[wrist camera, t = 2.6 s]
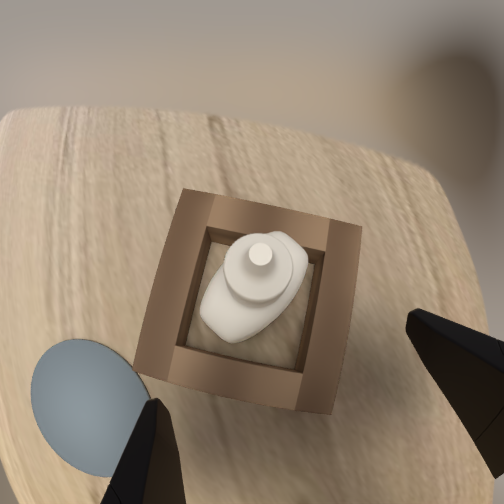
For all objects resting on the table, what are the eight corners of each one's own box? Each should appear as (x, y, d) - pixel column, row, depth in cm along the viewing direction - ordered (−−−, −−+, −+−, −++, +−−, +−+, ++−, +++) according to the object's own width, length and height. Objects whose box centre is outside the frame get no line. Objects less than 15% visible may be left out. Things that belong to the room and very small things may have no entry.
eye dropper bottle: (202, 286, 21) (153, 216, 9) (280, 262, 21) (318, 170, 10) (221, 348, 20) (190, 354, 8) (301, 321, 20) (371, 292, 9)
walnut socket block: (348, 241, 22) (362, 226, 19) (319, 405, 18) (331, 414, 16) (190, 207, 22) (183, 188, 20) (147, 367, 19) (132, 370, 16)
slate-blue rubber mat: (168, 366, 19) (167, 367, 19) (144, 495, 16) (143, 497, 16) (45, 320, 20) (42, 320, 19) (29, 438, 16) (26, 439, 16)
